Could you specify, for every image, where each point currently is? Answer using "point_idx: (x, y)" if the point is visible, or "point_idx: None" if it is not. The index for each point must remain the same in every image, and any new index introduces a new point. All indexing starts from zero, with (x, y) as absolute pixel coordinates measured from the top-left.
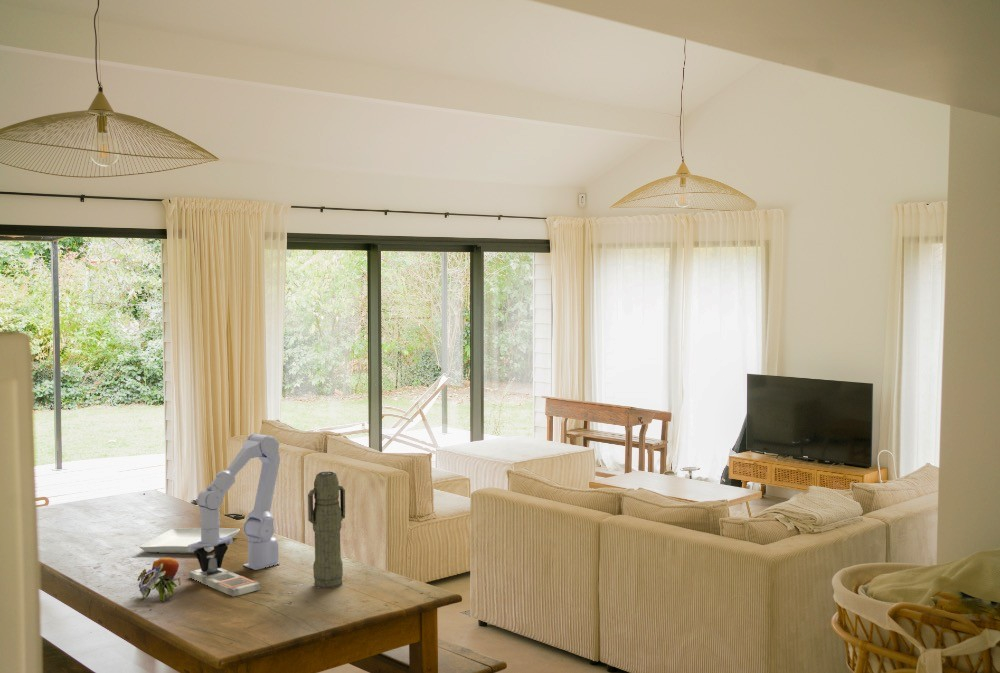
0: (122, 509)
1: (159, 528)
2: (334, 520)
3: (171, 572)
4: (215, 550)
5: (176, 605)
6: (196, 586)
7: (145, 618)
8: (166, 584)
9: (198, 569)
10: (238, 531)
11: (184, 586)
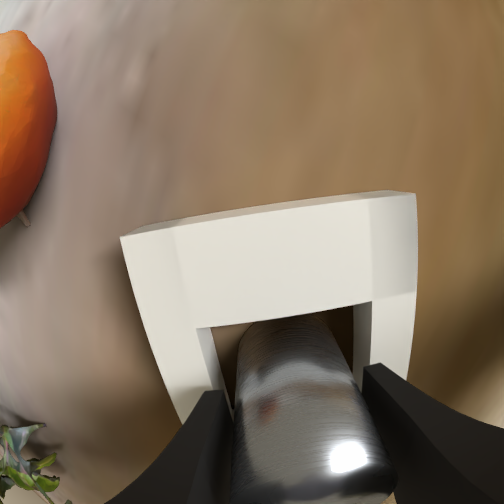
0: None
1: None
2: None
3: None
4: (448, 493)
5: (84, 498)
6: (154, 428)
7: (35, 491)
8: (24, 488)
9: (223, 220)
10: None
11: (92, 388)
